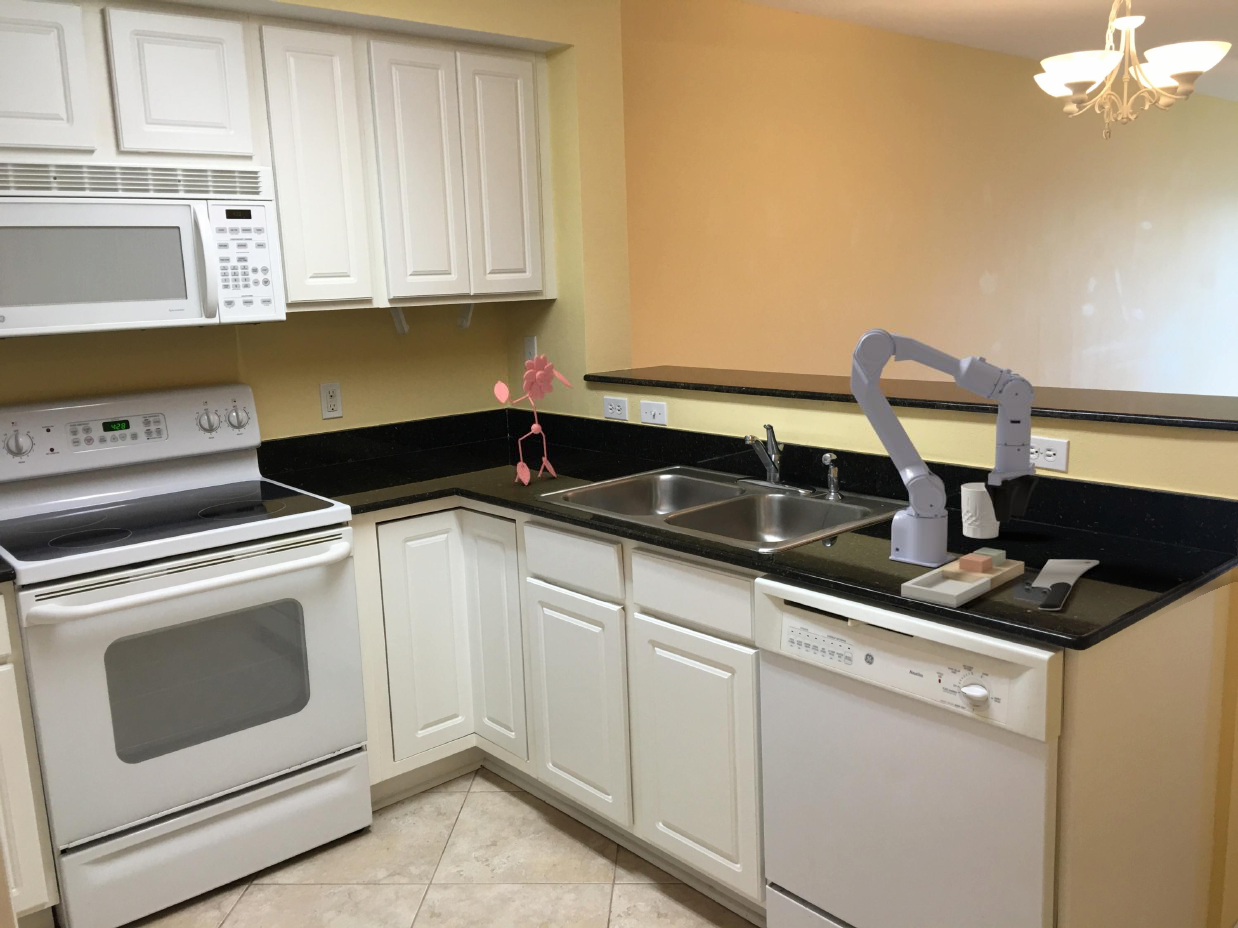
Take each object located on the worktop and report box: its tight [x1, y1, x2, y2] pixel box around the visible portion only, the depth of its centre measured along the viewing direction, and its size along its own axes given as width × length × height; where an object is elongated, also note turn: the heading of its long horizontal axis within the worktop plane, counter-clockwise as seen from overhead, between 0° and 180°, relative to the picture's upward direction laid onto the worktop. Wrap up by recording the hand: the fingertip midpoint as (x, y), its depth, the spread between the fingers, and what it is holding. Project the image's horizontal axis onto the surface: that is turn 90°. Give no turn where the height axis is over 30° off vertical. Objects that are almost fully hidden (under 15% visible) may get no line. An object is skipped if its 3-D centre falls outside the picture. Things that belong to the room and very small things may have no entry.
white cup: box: [960, 482, 1001, 540], centre depth 200 cm, size 8×8×10 cm
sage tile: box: [972, 547, 1007, 567], centre depth 173 cm, size 4×4×2 cm
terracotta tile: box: [958, 552, 993, 573], centre depth 170 cm, size 4×4×2 cm
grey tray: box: [900, 568, 991, 609], centre depth 164 cm, size 10×12×2 cm
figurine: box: [493, 354, 574, 487], centre depth 269 cm, size 15×26×35 cm, turn 140°
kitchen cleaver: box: [1031, 559, 1100, 614], centre depth 167 cm, size 31×2×10 cm
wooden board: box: [937, 558, 1025, 591], centre depth 172 cm, size 10×13×2 cm
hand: (1010, 518), depth 178 cm, fingers open, 6 cm apart
